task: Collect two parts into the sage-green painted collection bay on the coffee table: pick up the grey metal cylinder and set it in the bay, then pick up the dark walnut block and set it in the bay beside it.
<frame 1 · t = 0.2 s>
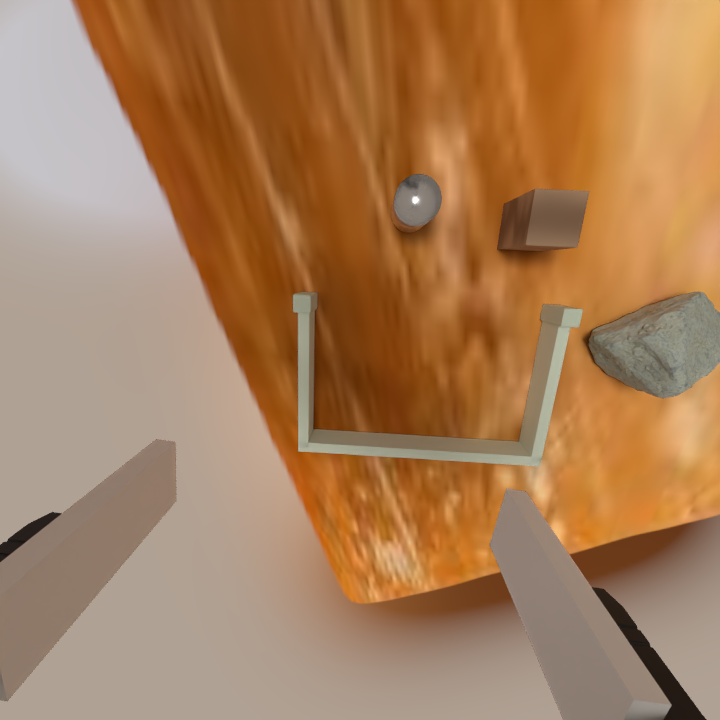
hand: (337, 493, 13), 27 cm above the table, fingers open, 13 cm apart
bay: (421, 375, 40), on the table
metal cylinder: (409, 212, 35), on the table
walnut block: (521, 228, 35), on the table
decorative stone: (635, 336, 38), on the table
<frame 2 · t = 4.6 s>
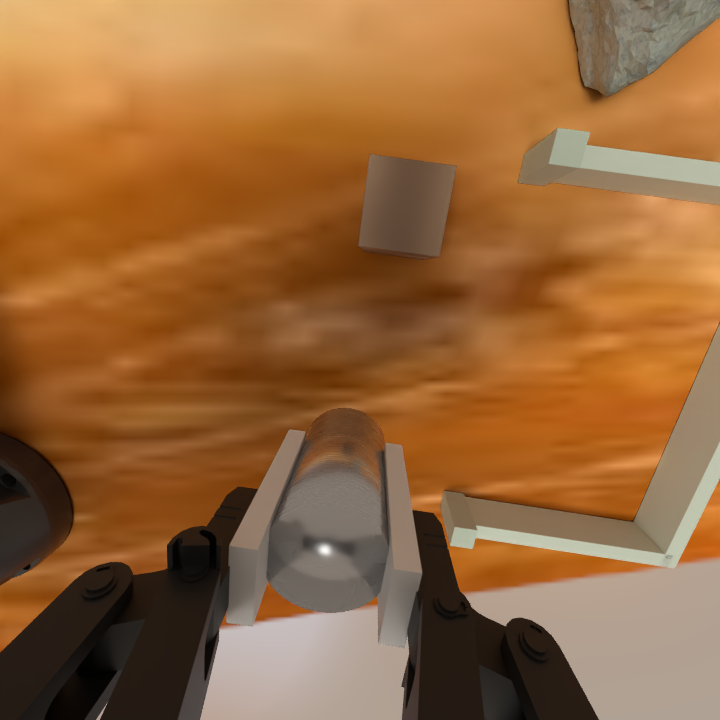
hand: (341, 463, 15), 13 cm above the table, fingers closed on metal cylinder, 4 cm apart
bay: (590, 373, 27), on the table
metal cylinder: (345, 444, 17), point 11 cm above the table, touching gripper
walnut block: (398, 223, 24), on the table
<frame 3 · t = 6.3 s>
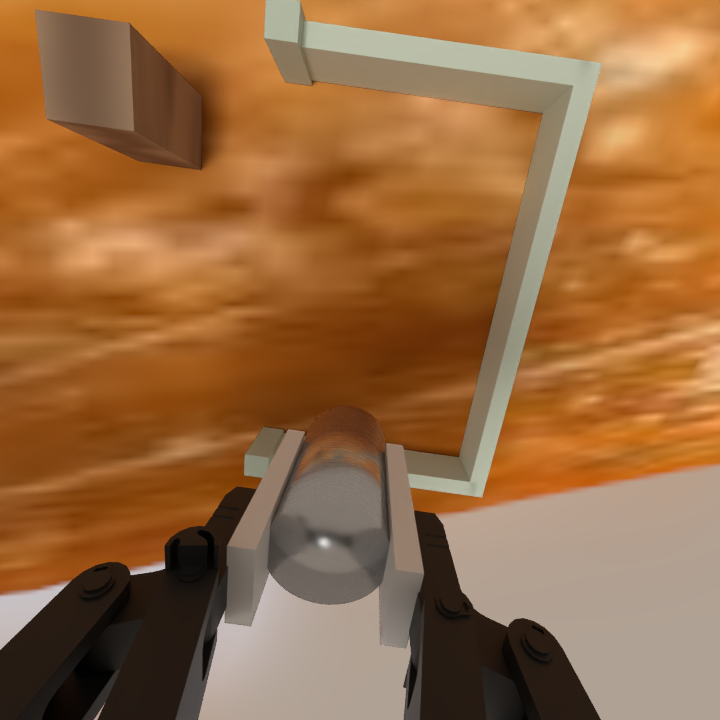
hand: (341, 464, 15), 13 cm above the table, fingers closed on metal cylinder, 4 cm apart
bay: (391, 294, 26), on the table
metal cylinder: (346, 441, 17), point 11 cm above the table, touching gripper
walnut block: (169, 129, 23), on the table
when the fingers open (0 cm above the table, at t = 8.8 s): metal cylinder stays where it is, on the table.
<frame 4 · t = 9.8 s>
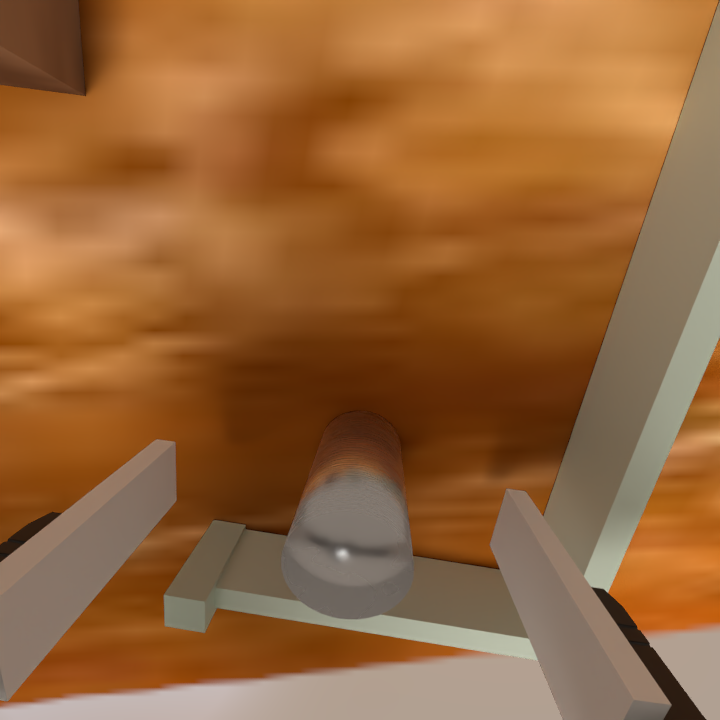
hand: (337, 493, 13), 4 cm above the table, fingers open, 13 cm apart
bay: (421, 315, 15), on the table
metal cylinder: (360, 447, 17), on the table
walnut block: (23, 19, 13), on the table
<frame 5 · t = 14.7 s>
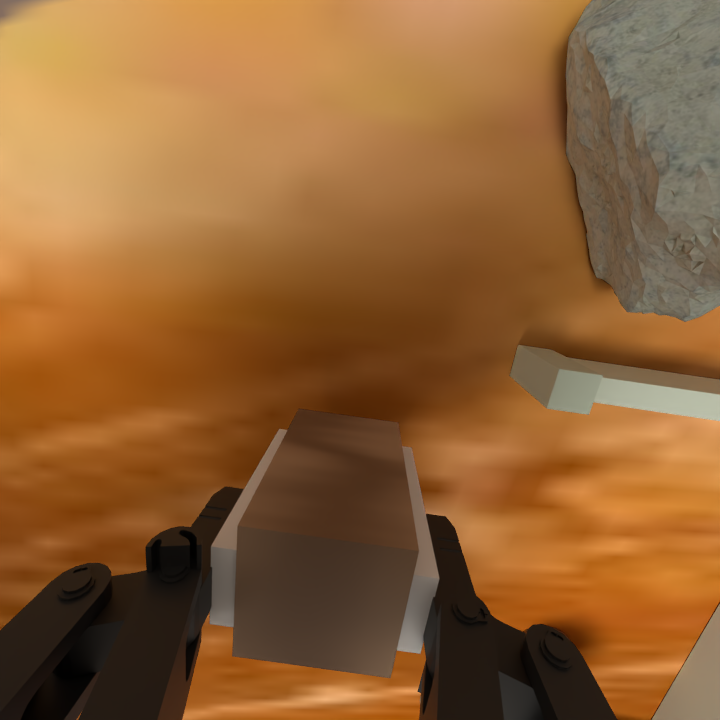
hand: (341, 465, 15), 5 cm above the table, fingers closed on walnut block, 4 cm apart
bay: (599, 577, 22), on the table
walnut block: (342, 459, 16), point 5 cm above the table, touching gripper
decorative stone: (638, 157, 16), on the table
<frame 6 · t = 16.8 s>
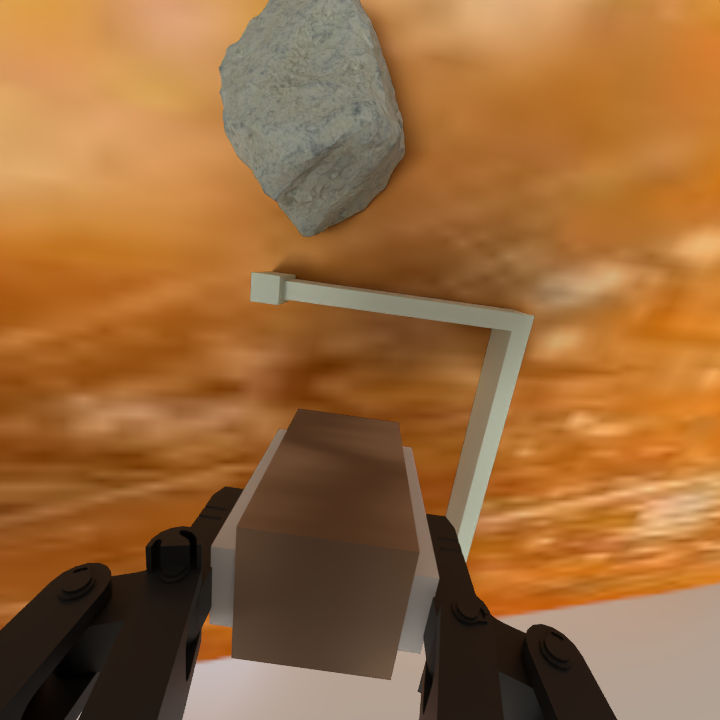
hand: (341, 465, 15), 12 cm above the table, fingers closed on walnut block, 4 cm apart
bay: (366, 457, 29), on the table
walnut block: (342, 459, 15), point 12 cm above the table, touching gripper
decorative stone: (328, 135, 23), on the table
when the fingers open (0 cm above the table, at t = 19.2 s): walnut block stays where it is, on the table.
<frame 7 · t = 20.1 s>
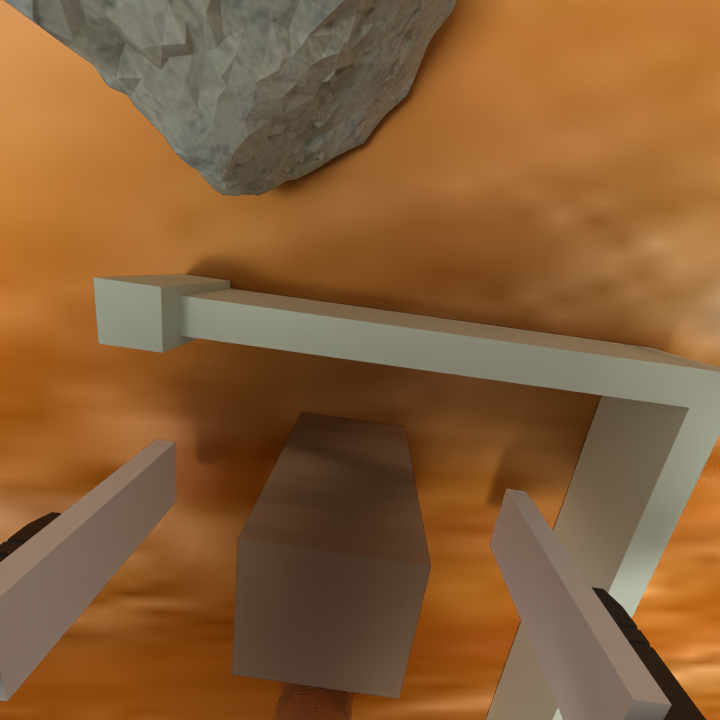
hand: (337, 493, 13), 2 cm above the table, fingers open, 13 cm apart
bay: (366, 592, 17), on the table
metal cylinder: (318, 681, 19), on the table
walnut block: (346, 464, 15), on the table
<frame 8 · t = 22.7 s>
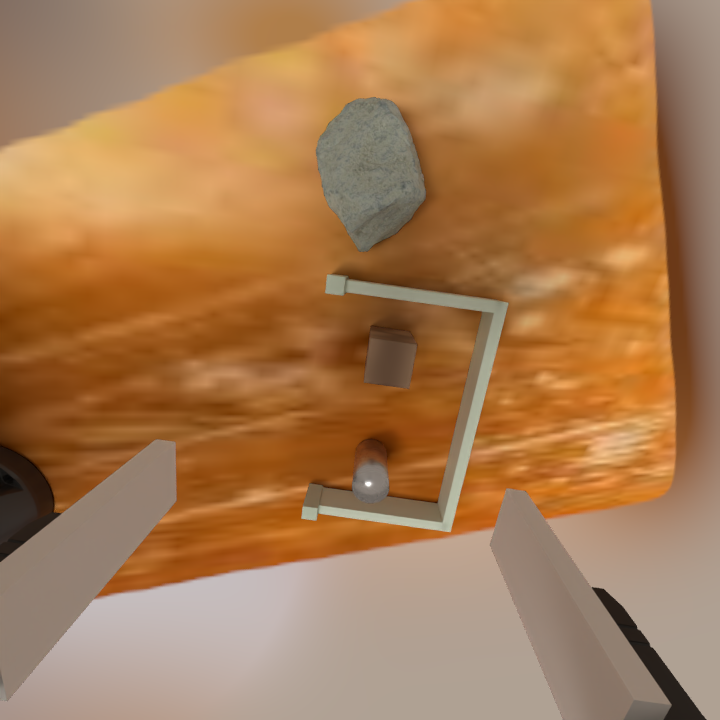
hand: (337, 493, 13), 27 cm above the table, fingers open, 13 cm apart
bay: (393, 405, 41), on the table
metal cylinder: (371, 452, 43), on the table
walnut block: (387, 347, 39), on the table
decorative stone: (373, 184, 35), on the table
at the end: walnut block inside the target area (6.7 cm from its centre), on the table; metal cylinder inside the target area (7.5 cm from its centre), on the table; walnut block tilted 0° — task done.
